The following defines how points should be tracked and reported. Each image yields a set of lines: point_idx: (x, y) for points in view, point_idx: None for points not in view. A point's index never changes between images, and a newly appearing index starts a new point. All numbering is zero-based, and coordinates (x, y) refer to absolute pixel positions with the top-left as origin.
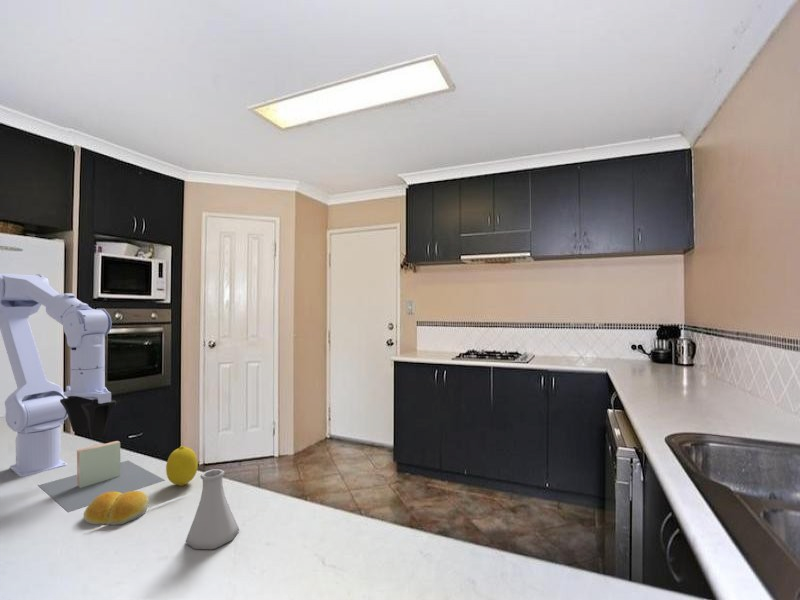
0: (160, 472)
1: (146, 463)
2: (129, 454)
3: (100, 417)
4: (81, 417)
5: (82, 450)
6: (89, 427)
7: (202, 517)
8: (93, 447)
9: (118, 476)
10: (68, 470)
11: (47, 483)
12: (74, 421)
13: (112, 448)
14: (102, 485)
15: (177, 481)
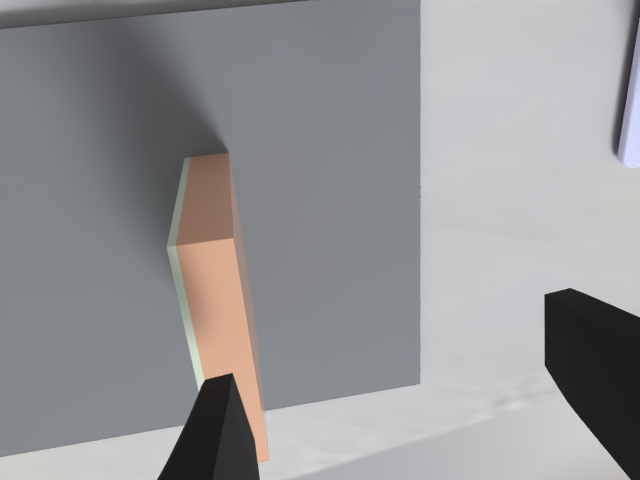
0: (152, 453)
1: (329, 429)
2: (522, 396)
3: None
4: (629, 425)
5: (192, 267)
6: (197, 442)
7: None
8: (217, 334)
9: None
10: (552, 157)
11: (406, 37)
12: (609, 355)
13: None
14: (135, 247)
15: None
